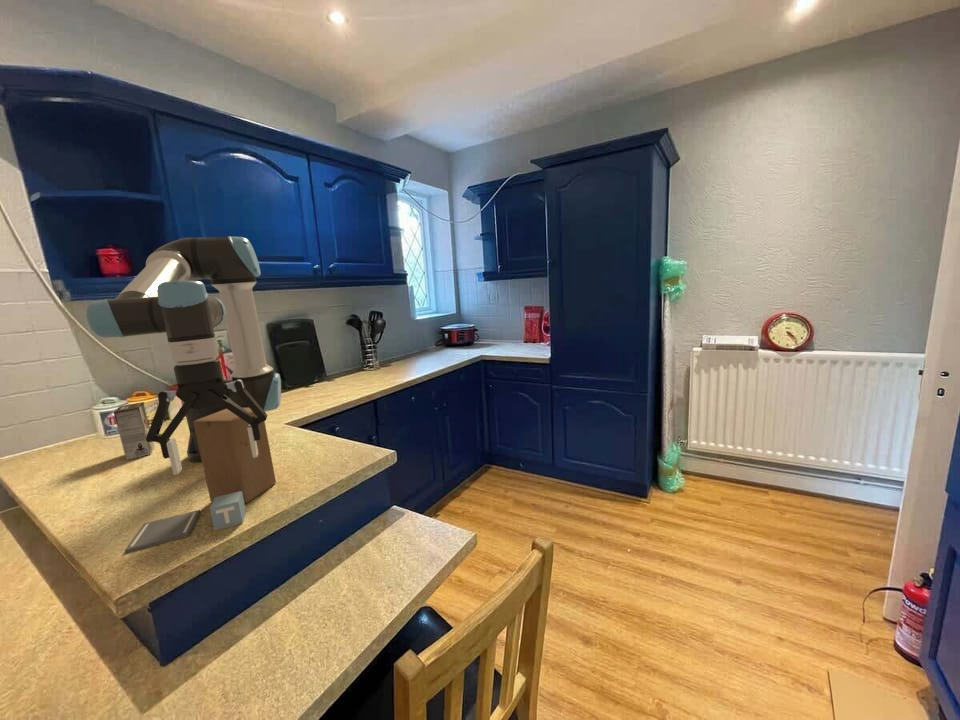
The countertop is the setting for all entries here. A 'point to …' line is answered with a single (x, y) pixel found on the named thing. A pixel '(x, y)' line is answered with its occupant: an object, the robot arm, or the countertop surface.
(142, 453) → the coffee box
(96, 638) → the countertop surface
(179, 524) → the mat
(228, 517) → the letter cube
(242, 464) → the wooden block
